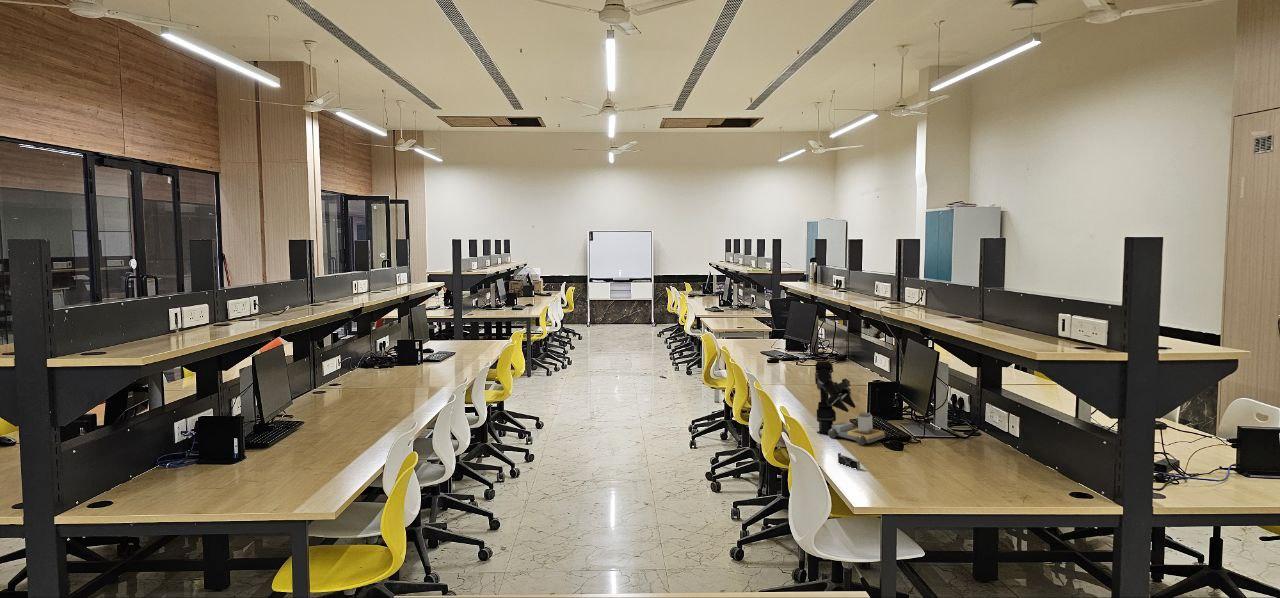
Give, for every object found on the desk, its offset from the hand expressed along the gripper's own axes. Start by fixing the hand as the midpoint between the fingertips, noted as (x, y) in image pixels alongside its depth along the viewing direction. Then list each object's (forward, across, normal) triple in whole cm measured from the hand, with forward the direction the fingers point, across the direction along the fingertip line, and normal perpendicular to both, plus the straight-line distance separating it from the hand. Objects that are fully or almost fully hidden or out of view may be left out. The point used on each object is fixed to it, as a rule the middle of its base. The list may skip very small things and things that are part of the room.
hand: (851, 409), depth 333 cm
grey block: (+13, -3, +2) cm, 13 cm away
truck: (+11, -1, +8) cm, 14 cm away
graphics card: (+20, -43, 0) cm, 47 cm away
